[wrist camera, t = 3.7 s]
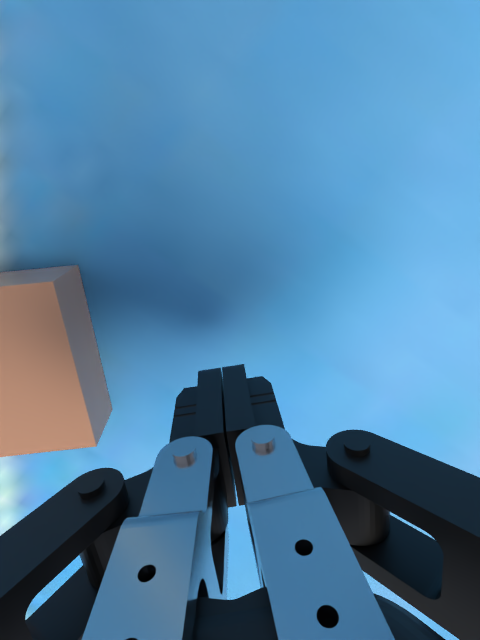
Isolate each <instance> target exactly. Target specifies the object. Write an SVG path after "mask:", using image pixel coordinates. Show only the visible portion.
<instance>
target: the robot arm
mask: <svg viewBox="0 0 480 640" xmlns="http://www.w3.org/2000/svg"><path fill="white" fill-rule="evenodd" d="M222 372H223V378H222ZM222 372H221V368H216V369H209V370H202V371H199V372H198V385H197V386H196V387H189V388H184V389H183V390H182V392H181V393H180V394H179V395H178V397H177V398H176V404H175V410H174V418H173V423H172V429H171V435H170V442H169V444H167V445H166V446H165V447H163V448H162V449H161V450H160V452H159V453H158V455H157V458H156V461H155V464H154V467H153V468H152V469H150V470H148V471H146V472H144V473H142V474H139V475H137V476H134V477H132V478H129V479H127V480H124V478H123V475H122V474H121V472H120V471H118V470H116V469H113V468H100V469H95V470H92V471H89V472H87V473H85V474H83V475H81V476H79V477H78V478H76V479H75V480H74V481H72V482H71V483H70V484H68V485H67V486H66V487H64V488H63V489H62V490H60V491H59V492H58V493H56V494H55V495H54V496H52V497H51V498H50V499H48V500H47V501H46V502H44V503H43V504H42V505H41V506H39V507H38V508H37V509H35V510H34V511H33V512H31V513H30V514H29V515H27V516H26V517H25V518H23V519H22V520H21V521H19V522H18V523H17V524H15V525H14V526H13V527H11V528H10V529H9V530H8V531H6V532H5V533H4V534H2V535H1V536H0V640H445V639H444V638H443V637H441V636H440V635H439V634H437V633H436V632H435V631H434V630H432V629H431V628H430V627H428V626H427V625H426V624H424V623H423V622H422V621H421V620H419V619H418V618H417V617H415V616H414V615H413V614H411V613H410V612H408V611H407V610H405V609H404V608H402V607H401V606H399V605H397V604H396V603H394V602H392V601H390V600H388V599H386V598H384V597H382V596H379V595H376V594H374V593H373V592H372V590H371V588H370V586H369V584H368V582H367V580H366V578H365V576H364V574H363V571H364V572H366V573H367V574H368V575H370V576H371V577H373V578H374V579H375V580H377V581H378V582H380V583H381V584H382V585H384V586H385V587H387V588H388V589H389V590H391V591H392V592H394V593H395V594H396V595H398V596H399V597H401V598H402V599H403V600H405V601H406V602H408V603H409V604H410V605H412V606H413V607H415V608H416V609H417V610H419V611H420V612H422V613H423V614H424V615H426V616H427V617H429V618H430V619H432V620H433V621H434V622H436V623H437V624H439V625H440V626H441V627H443V628H444V629H446V630H447V631H448V632H450V633H451V634H453V635H454V636H455V637H457V638H458V639H460V640H480V478H479V477H477V476H474V475H472V474H470V473H467V472H465V471H462V470H460V469H458V468H455V467H453V466H450V465H448V464H446V463H443V462H441V461H438V460H436V459H434V458H431V457H429V456H426V455H424V454H422V453H419V452H417V451H414V450H412V449H409V448H407V447H405V446H402V445H400V444H397V443H395V442H393V441H390V440H388V439H385V438H383V437H381V436H378V435H376V434H373V433H371V432H368V431H363V430H346V431H342V432H339V433H337V434H335V435H333V436H332V437H331V438H330V439H329V440H328V442H327V444H326V447H320V446H309V445H305V444H301V443H299V442H297V441H295V440H293V439H292V438H291V436H290V434H289V433H288V432H287V431H286V430H285V428H284V425H283V422H282V418H281V415H280V412H279V408H278V405H277V402H276V398H275V395H274V392H273V389H272V385H271V383H270V382H269V381H268V380H266V379H265V378H264V377H262V376H260V377H254V378H246V373H245V368H244V364H241V365H235V366H228V367H222ZM234 479H235V481H234ZM235 485H236V491H237V497H238V503H239V505H245V508H246V514H247V520H248V526H249V532H250V537H251V542H252V547H253V552H254V557H255V562H256V567H257V572H258V577H259V582H260V587H261V588H260V589H258V590H256V591H254V592H251V593H249V594H247V595H245V596H242V597H240V598H238V599H234V600H227V573H228V545H229V532H228V527H227V524H228V507H234V506H236V493H235ZM390 512H392V513H394V514H395V515H397V516H399V517H401V518H403V519H404V520H406V521H408V522H410V523H412V524H413V525H415V526H417V527H419V528H421V529H422V530H424V531H426V532H427V533H429V534H430V535H431V536H432V537H433V538H434V539H435V540H434V539H432V538H430V537H429V536H427V535H425V534H423V533H421V532H420V531H418V530H416V529H414V528H413V527H411V526H409V525H407V524H405V523H404V522H402V521H400V520H398V519H397V518H395V517H393V516H391V515H390ZM78 555H80V558H81V560H82V563H83V566H82V567H81V568H80V569H79V570H78V571H77V572H76V573H75V574H73V575H72V576H71V577H70V578H69V579H68V580H67V581H66V582H65V583H64V584H63V585H62V586H61V587H60V588H59V589H58V590H57V591H56V592H55V593H54V594H53V595H52V596H51V597H50V598H49V599H48V600H47V601H46V602H45V603H43V604H42V605H41V606H40V607H39V608H38V609H37V610H36V611H35V612H34V613H33V614H32V615H31V616H30V617H29V618H28V619H27V620H25V615H26V611H27V609H28V606H29V605H30V603H31V601H32V600H33V598H34V597H35V596H36V595H37V594H38V593H39V592H40V591H41V590H42V589H43V588H44V587H45V586H46V585H47V584H48V583H49V582H51V581H52V580H53V579H54V578H55V577H56V576H57V575H58V574H59V573H60V572H61V571H62V570H63V569H64V568H66V567H67V566H68V565H69V564H70V563H71V562H72V561H73V560H74V559H75V558H76V557H77V556H78ZM362 570H363V571H362Z"/></svg>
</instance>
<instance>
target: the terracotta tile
mask: <svg viewBox="0 0 480 640" xmlns="http://www.w3.org/2000/svg"><path fill="white" fill-rule="evenodd" d="M111 412H112V406H111V402H110V397H109V393H108V389H107V385H106V380H105V376H104V372H103V368H102V363H101V359H100V355H99V351H98V347H97V342H96V338H95V334H94V330H93V325H92V321H91V317H90V313H89V308H88V304H87V300H86V296H85V292H84V287H83V283H82V279H81V275H80V270H79V266H78V265H70V266H59V267H49V268H39V269H29V270H18V271H8V272H0V457H4V456H13V455H22V454H32V453H41V452H50V451H59V450H68V449H77V448H86V447H95V446H97V444H98V442H99V439H100V437H101V435H102V432H103V430H104V428H105V425H106V423H107V421H108V419H109V416H110V414H111Z"/></svg>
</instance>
